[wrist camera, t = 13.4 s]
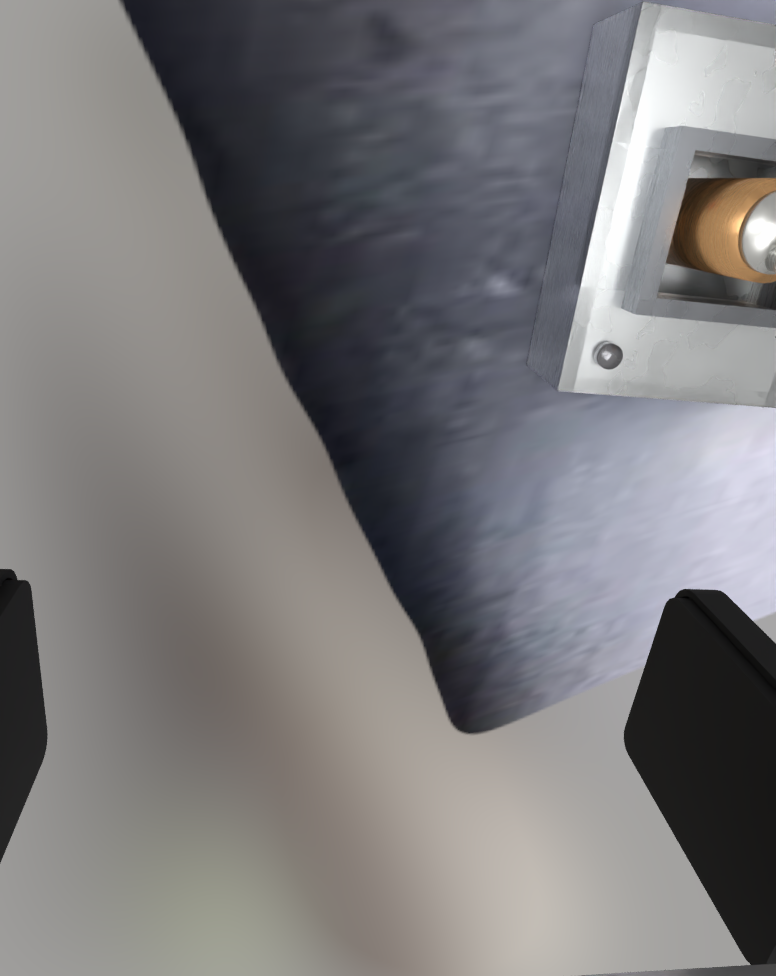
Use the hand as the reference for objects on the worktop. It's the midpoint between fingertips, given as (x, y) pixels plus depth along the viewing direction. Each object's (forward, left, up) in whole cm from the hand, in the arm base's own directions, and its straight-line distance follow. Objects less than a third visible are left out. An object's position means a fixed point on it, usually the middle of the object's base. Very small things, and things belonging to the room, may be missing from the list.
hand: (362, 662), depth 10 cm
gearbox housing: (-6, +18, -28) cm, 34 cm away
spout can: (-6, +18, -27) cm, 33 cm away
